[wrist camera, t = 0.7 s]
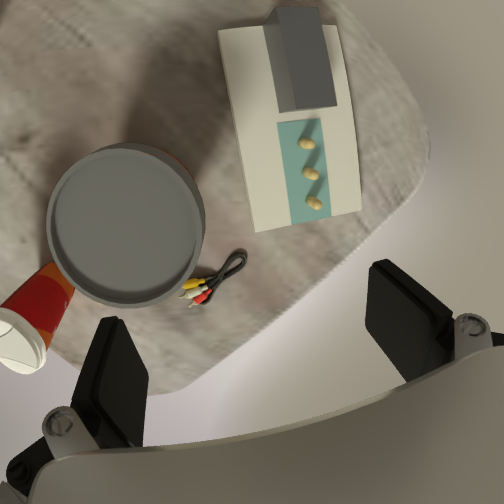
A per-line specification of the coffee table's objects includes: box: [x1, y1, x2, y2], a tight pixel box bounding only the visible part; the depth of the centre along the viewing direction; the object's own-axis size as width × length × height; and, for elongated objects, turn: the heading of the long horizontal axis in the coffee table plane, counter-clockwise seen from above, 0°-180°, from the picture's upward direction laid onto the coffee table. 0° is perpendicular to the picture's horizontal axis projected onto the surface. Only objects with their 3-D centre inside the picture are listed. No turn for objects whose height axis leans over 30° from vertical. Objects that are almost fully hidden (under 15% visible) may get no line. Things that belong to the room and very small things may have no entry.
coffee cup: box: [0, 262, 75, 374], centre depth 28 cm, size 8×8×15 cm
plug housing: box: [263, 7, 337, 113], centre depth 25 cm, size 11×4×6 cm, turn 10°
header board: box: [217, 25, 362, 233], centre depth 30 cm, size 24×14×5 cm, turn 10°
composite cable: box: [179, 252, 247, 307], centre depth 38 cm, size 10×5×2 cm, turn 115°
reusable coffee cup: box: [46, 143, 205, 308], centre depth 26 cm, size 13×13×15 cm
